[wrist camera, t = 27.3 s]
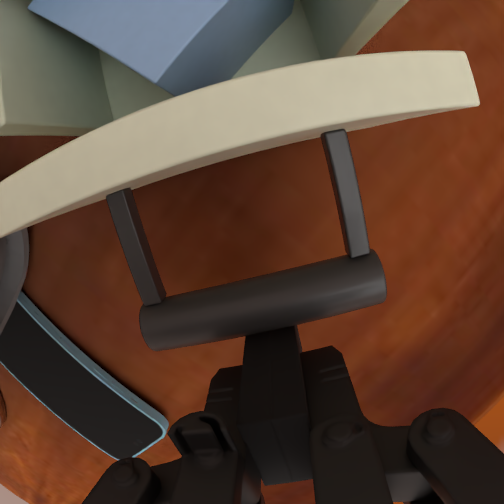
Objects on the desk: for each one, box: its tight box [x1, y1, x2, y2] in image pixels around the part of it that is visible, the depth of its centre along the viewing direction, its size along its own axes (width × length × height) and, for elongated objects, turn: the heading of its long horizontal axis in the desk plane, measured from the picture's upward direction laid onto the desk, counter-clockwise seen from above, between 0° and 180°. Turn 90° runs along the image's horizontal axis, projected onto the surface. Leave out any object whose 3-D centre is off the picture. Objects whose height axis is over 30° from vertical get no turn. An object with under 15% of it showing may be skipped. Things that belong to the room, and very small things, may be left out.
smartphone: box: [0, 291, 169, 460], centre depth 17 cm, size 7×1×15 cm
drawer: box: [0, 0, 480, 351], centre depth 8 cm, size 18×11×8 cm, turn 15°
